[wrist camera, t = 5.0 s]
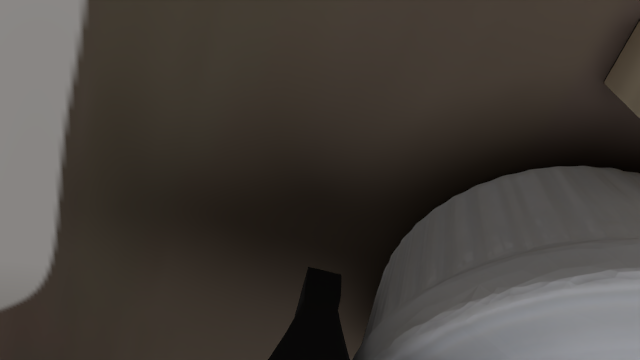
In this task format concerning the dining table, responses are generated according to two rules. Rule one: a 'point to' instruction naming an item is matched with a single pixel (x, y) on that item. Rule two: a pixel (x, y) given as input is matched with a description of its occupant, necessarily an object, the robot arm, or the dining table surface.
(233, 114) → the dining table surface
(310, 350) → the robot arm
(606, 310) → the ramekin
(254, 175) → the dining table surface
